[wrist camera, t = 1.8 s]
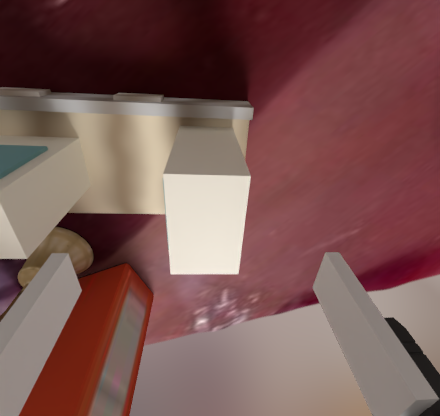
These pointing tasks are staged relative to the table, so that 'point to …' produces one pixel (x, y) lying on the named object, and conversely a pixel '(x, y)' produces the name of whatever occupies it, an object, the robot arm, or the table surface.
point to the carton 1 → (37, 189)
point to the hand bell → (55, 243)
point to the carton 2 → (205, 201)
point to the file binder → (96, 349)
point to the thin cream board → (118, 138)
